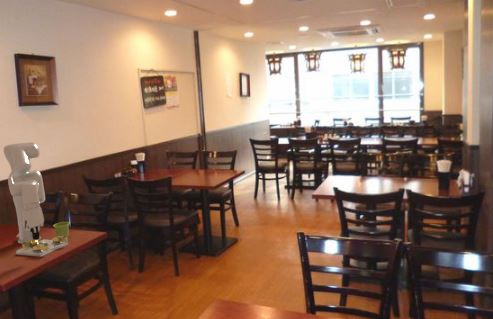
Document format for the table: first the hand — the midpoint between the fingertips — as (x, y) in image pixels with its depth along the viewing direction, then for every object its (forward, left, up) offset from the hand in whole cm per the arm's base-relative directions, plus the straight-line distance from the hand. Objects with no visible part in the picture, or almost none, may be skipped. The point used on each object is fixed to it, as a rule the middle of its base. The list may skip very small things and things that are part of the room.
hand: (36, 239), depth 234 cm
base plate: (-10, +12, -11) cm, 19 cm away
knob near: (-16, +10, -8) cm, 20 cm away
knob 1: (-3, +5, -8) cm, 10 cm away
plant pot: (-14, +32, -11) cm, 37 cm away
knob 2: (-3, +19, -8) cm, 21 cm away
